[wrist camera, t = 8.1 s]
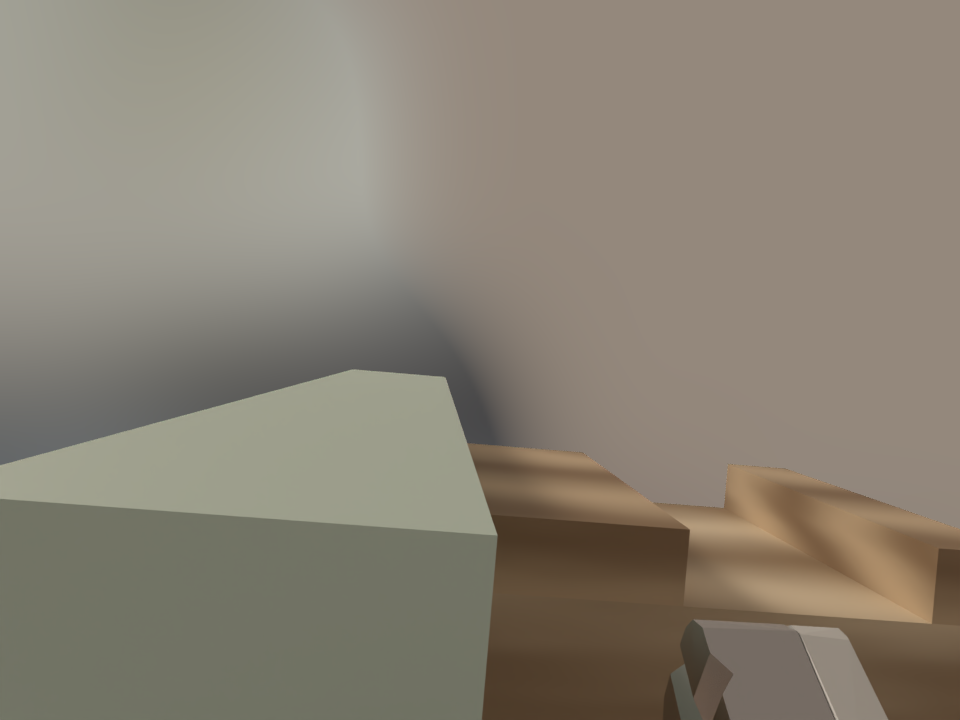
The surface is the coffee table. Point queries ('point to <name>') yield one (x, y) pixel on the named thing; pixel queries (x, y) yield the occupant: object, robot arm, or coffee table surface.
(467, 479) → the gray-green block
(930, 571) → the wooden box
